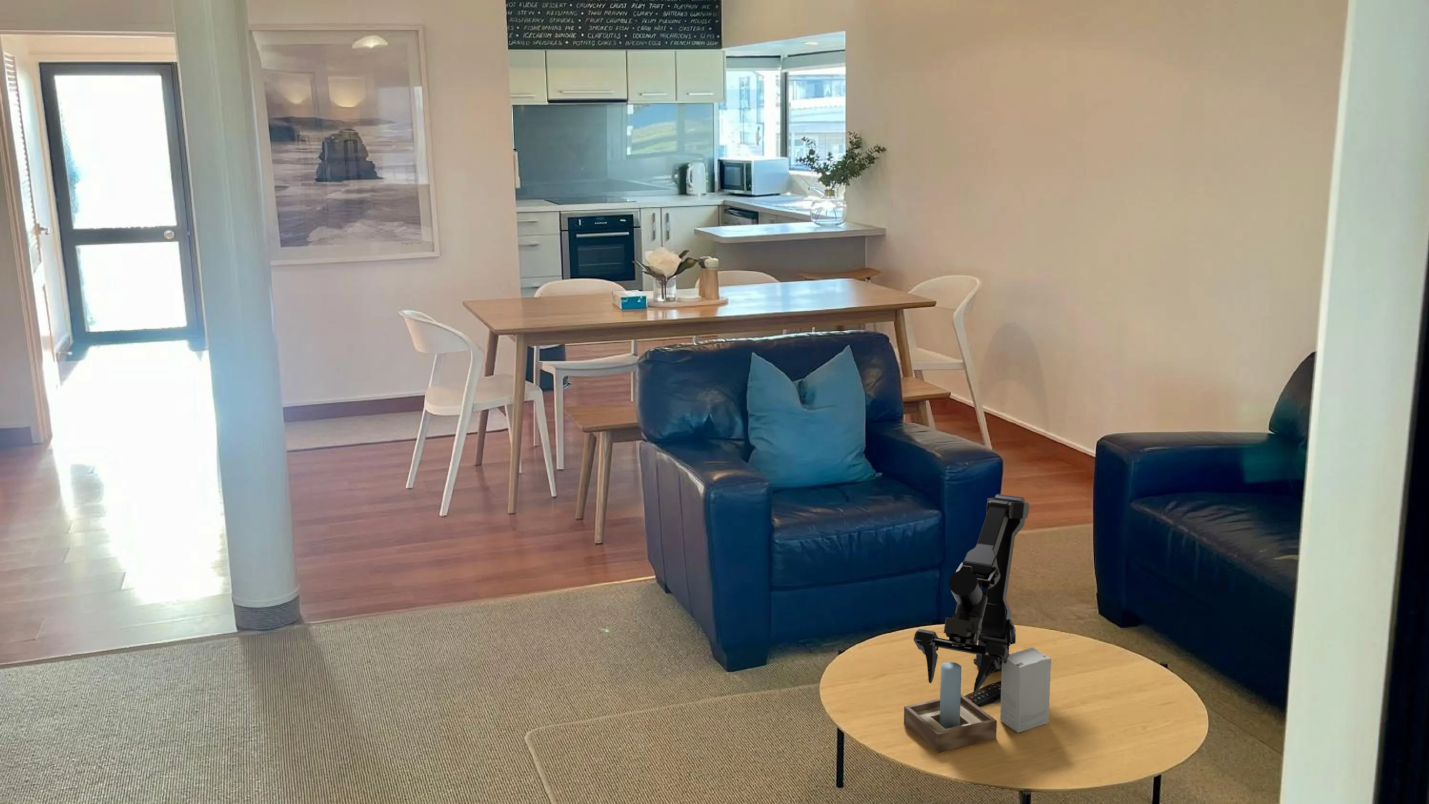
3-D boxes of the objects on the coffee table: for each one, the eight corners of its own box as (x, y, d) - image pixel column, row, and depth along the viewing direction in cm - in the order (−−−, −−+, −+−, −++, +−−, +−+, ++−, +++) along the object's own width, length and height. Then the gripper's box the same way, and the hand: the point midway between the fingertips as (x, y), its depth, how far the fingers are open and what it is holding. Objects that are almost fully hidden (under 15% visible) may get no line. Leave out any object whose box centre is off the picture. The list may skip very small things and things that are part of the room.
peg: (946, 723, 240) (948, 660, 237) (963, 730, 237) (965, 666, 234) (935, 731, 237) (937, 666, 234) (952, 737, 234) (954, 672, 231)
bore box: (960, 710, 245) (960, 693, 244) (996, 738, 234) (996, 720, 233) (903, 723, 240) (904, 706, 239) (937, 752, 229) (938, 734, 228)
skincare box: (1030, 712, 244) (1033, 645, 241) (1050, 724, 239) (1053, 656, 235) (997, 721, 240) (1000, 654, 237) (1017, 734, 235) (1020, 665, 232)
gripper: (917, 592, 241) (898, 663, 234) (1008, 607, 232) (991, 682, 225) (928, 613, 249) (910, 683, 243) (1016, 629, 241) (1000, 701, 234)
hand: (952, 687), depth 236 cm, fingers open, 9 cm apart
